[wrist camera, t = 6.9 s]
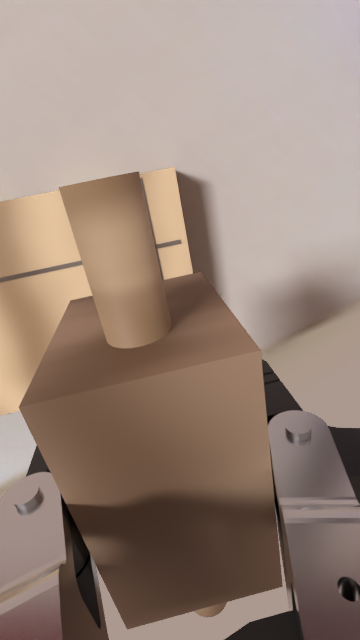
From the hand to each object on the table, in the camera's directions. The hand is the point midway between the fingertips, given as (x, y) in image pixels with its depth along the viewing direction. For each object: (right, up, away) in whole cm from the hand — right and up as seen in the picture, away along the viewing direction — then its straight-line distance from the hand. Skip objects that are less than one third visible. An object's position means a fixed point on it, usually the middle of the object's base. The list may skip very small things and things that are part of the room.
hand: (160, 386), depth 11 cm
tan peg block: (0, 0, 0) cm, 0 cm away
